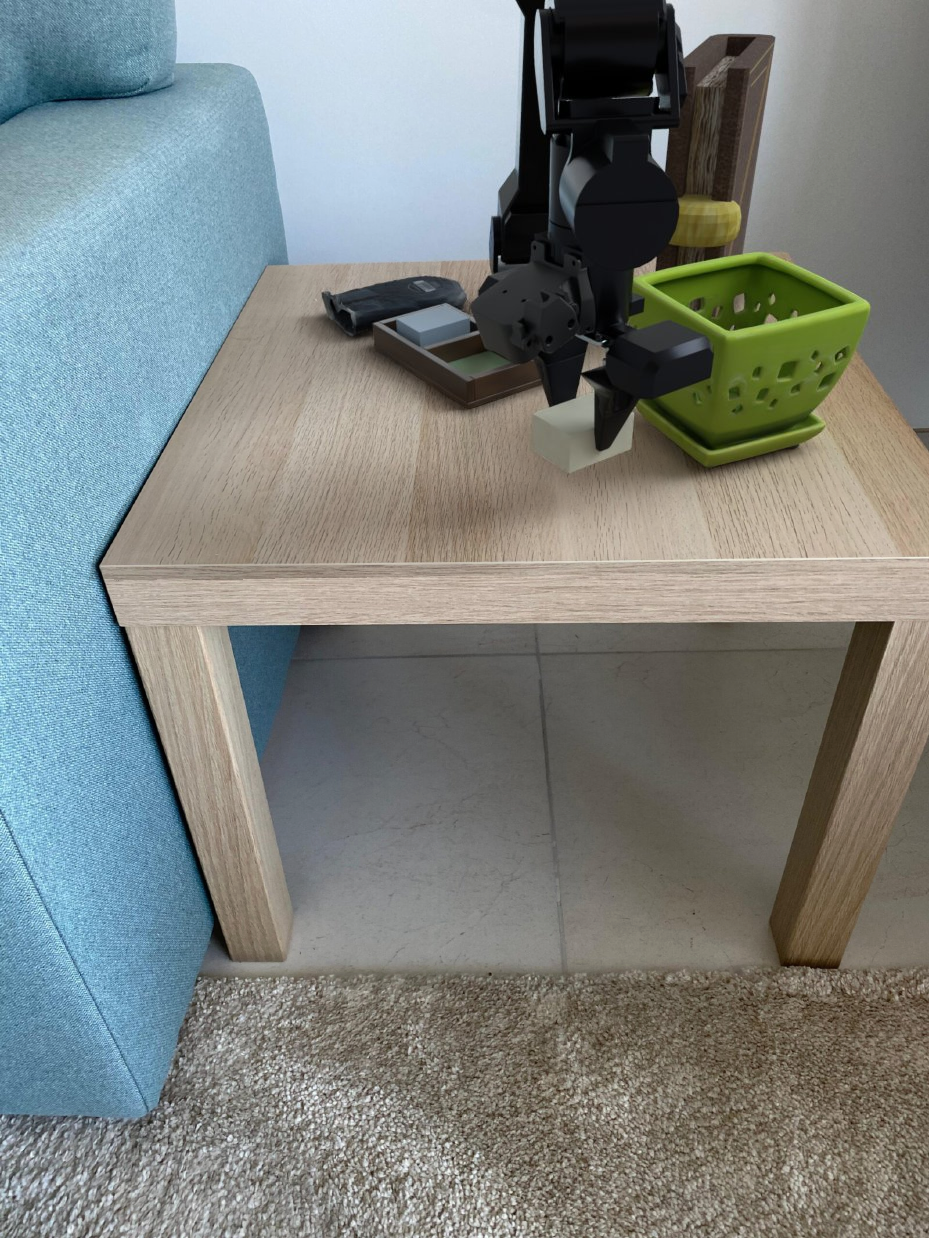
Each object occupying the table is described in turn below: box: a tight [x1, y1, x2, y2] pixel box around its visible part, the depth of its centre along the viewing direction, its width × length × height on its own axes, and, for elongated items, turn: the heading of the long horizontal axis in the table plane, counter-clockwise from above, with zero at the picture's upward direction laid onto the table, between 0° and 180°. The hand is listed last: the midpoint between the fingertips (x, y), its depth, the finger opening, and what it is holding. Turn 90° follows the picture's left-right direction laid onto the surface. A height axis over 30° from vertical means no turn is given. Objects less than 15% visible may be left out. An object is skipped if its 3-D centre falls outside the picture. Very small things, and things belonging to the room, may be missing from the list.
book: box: [654, 33, 776, 317], centre depth 93 cm, size 22×8×25 cm, turn 159°
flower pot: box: [628, 251, 871, 469], centre depth 77 cm, size 14×14×13 cm
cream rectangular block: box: [531, 391, 635, 474], centre depth 69 cm, size 6×4×3 cm
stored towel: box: [396, 305, 470, 348], centre depth 95 cm, size 6×4×3 cm
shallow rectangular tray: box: [372, 303, 542, 410], centre depth 93 cm, size 9×17×3 cm, turn 34°
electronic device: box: [320, 275, 469, 337], centre depth 103 cm, size 9×6×15 cm
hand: (581, 436), depth 70 cm, fingers closed on cream rectangular block, 4 cm apart
